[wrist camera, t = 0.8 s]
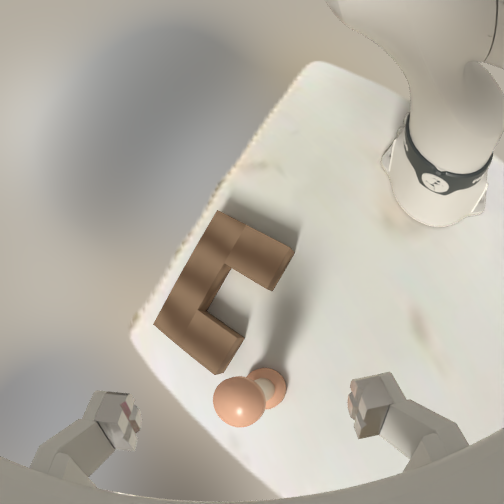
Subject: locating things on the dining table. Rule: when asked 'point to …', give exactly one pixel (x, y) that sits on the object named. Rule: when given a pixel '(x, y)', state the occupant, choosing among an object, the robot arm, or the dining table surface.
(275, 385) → the bobbin
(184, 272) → the notched board
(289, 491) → the dining table surface
